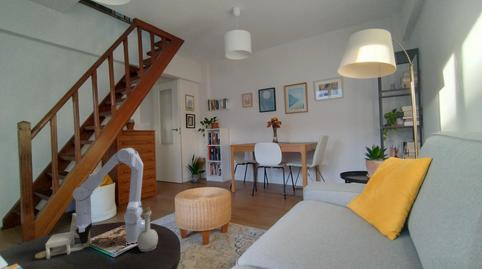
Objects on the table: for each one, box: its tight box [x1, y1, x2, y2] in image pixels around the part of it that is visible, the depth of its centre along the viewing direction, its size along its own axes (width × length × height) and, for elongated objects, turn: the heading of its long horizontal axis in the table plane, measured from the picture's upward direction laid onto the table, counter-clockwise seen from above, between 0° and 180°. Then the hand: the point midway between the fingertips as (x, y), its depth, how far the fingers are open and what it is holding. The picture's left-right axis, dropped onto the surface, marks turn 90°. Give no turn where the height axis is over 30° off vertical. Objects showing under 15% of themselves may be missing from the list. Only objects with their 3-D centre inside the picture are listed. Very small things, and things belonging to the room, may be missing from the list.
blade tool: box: [50, 230, 91, 257], centre depth 101 cm, size 14×5×6 cm, turn 118°
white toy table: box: [45, 231, 75, 260], centre depth 100 cm, size 8×10×6 cm
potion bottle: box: [136, 206, 159, 253], centre depth 101 cm, size 9×9×18 cm
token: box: [34, 250, 52, 260], centre depth 97 cm, size 5×5×1 cm
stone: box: [69, 212, 80, 239], centre depth 116 cm, size 10×5×12 cm, turn 65°
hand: (84, 242), depth 104 cm, fingers closed on blade tool
